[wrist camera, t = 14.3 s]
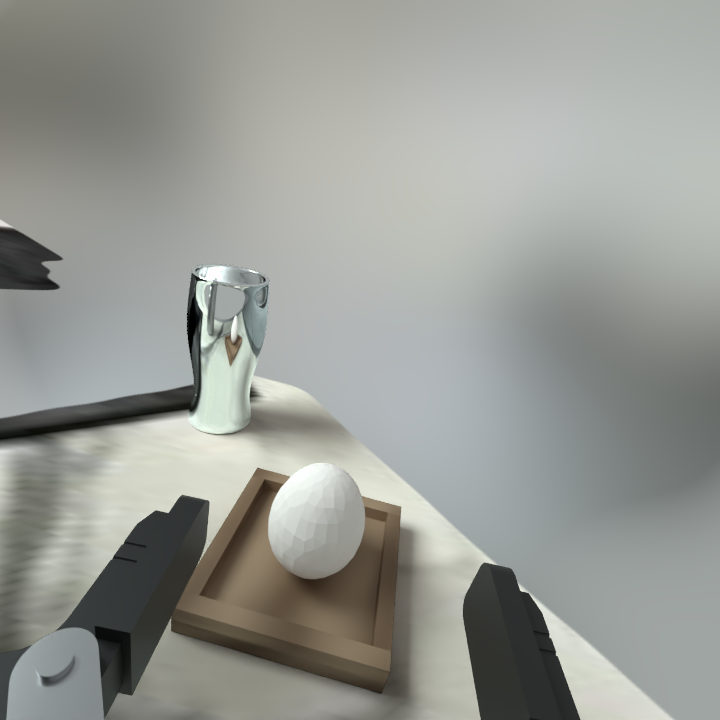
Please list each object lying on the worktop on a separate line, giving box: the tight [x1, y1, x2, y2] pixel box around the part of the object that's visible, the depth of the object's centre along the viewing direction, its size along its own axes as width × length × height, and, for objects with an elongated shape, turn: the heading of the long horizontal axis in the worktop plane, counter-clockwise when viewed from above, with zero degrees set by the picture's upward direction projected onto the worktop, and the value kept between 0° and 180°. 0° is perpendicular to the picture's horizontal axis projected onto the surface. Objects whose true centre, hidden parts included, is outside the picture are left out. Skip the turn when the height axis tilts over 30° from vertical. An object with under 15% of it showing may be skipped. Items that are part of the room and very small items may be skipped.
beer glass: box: [187, 264, 269, 434], centre depth 38 cm, size 7×7×15 cm
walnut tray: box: [171, 468, 401, 693], centre depth 27 cm, size 12×12×2 cm
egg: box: [268, 463, 365, 579], centre depth 25 cm, size 6×6×8 cm
